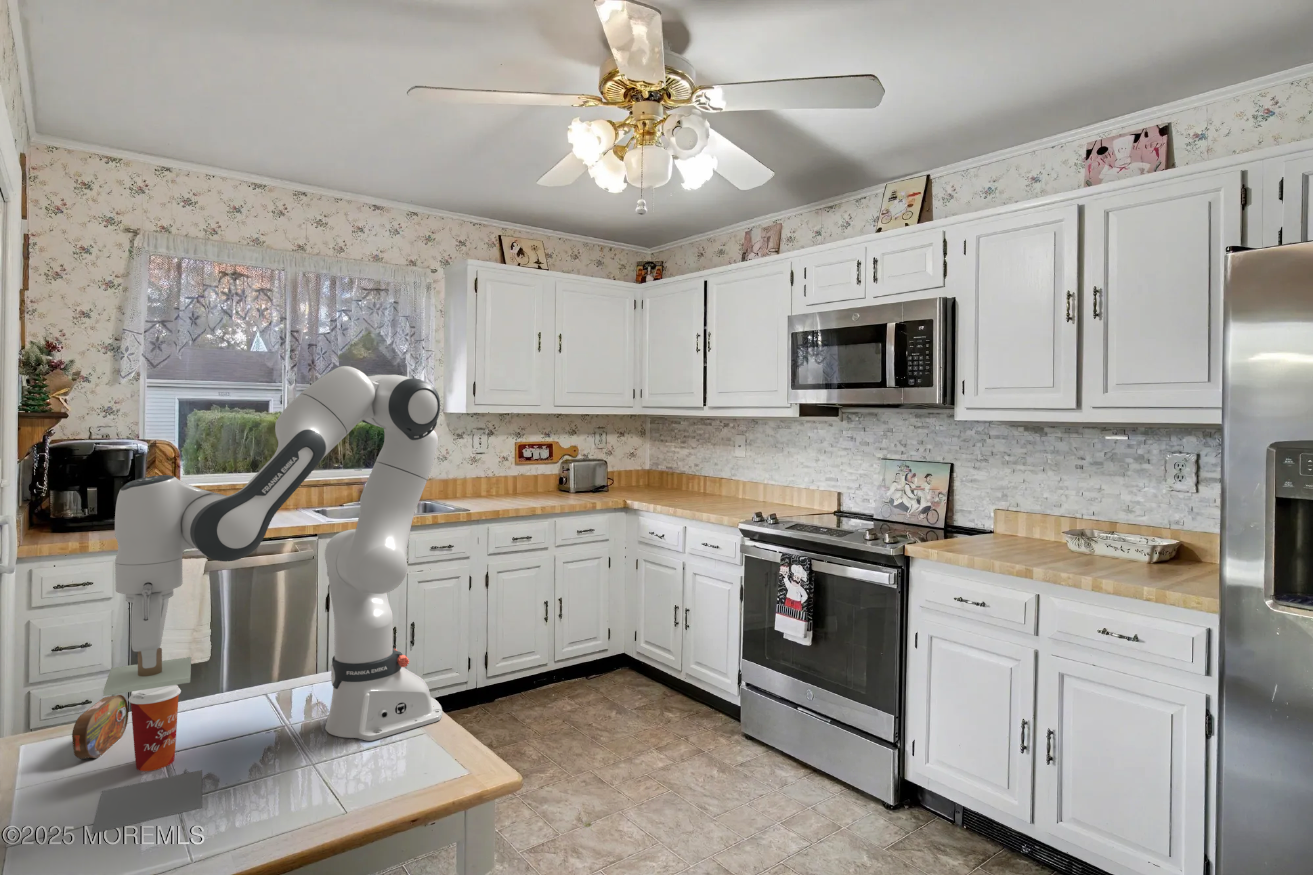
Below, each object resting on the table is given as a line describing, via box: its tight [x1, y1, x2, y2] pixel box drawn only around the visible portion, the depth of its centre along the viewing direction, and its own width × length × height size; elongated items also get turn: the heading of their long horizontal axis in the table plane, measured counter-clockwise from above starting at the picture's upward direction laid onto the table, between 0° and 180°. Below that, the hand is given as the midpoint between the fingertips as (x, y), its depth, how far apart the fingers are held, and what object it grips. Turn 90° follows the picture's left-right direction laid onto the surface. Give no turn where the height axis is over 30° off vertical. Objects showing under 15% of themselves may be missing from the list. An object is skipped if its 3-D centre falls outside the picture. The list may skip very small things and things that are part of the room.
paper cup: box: [127, 684, 182, 772], centre depth 129 cm, size 8×8×14 cm
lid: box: [102, 647, 192, 697], centre depth 116 cm, size 11×11×4 cm
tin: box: [71, 694, 129, 760], centre depth 135 cm, size 15×3×8 cm, turn 13°
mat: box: [90, 769, 203, 835], centre depth 117 cm, size 14×14×1 cm
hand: (150, 662), depth 116 cm, fingers closed on lid, 3 cm apart
